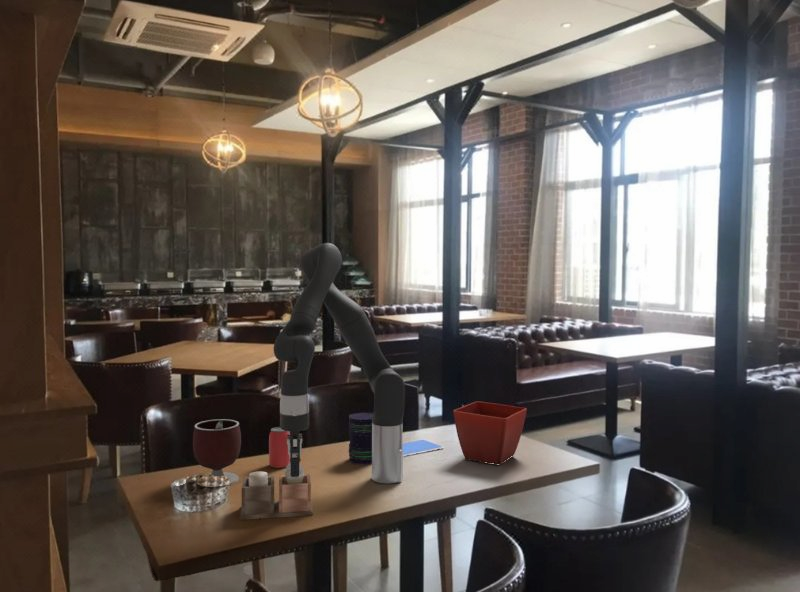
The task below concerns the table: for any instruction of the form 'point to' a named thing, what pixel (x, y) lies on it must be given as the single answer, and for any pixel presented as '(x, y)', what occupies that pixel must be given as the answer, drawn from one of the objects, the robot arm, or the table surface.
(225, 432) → the mate gourd
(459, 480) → the table surface
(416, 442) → the tablet computer
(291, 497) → the condiment caddy
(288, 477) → the ice cream cone
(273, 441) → the beer can
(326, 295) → the robot arm
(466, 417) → the plant pot
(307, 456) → the table surface
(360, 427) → the storage jar
